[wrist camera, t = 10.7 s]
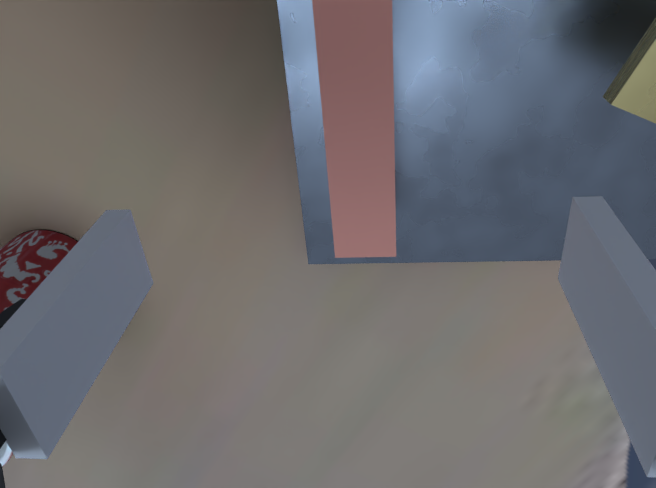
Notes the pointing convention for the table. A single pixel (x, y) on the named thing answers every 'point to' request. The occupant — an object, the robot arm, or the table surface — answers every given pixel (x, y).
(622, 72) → the block
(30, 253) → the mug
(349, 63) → the link
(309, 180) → the plate
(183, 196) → the table surface
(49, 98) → the table surface
